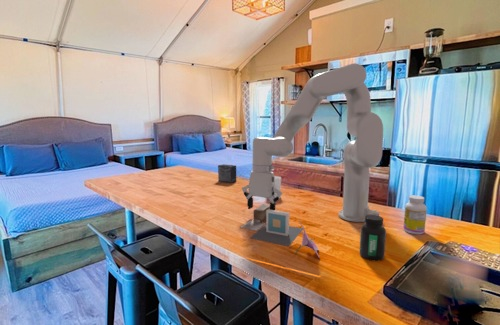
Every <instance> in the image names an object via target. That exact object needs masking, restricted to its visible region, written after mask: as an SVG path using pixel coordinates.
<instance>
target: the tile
mask: <svg viewBox="0 0 500 325" xmlns="http://www.w3.org/2000/svg"><path fill="white" fill-rule="evenodd" d="M265 221H266V222H265V223H266V224H265V225H266V232H270V233H275V234H280V235H285V236H288V235H289V226H290V212H289V211H281V210H276V209H275V210H270V209H268V210H266V220H265Z"/></svg>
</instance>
